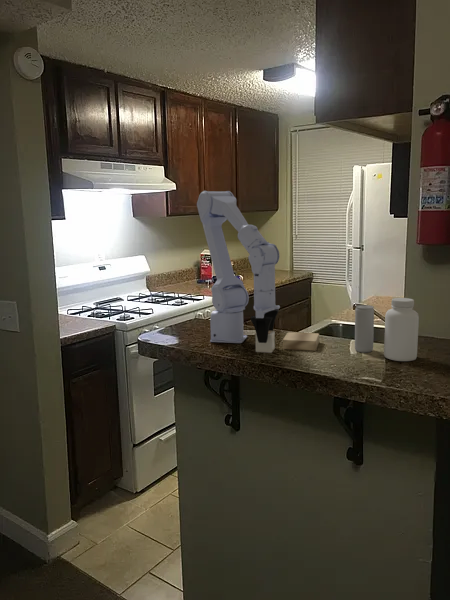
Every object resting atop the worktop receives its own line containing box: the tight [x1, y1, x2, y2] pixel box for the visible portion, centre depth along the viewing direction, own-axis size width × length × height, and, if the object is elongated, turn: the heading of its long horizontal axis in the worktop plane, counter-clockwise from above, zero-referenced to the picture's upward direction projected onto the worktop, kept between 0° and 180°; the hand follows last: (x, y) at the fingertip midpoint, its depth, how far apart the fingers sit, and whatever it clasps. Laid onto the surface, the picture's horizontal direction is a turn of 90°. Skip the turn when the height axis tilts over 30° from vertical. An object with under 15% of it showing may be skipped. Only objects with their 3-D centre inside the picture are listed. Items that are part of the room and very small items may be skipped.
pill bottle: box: [383, 297, 420, 362], centre depth 127 cm, size 8×8×15 cm
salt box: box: [255, 330, 276, 354], centre depth 139 cm, size 4×4×5 cm
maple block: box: [282, 331, 320, 351], centre depth 143 cm, size 9×9×3 cm
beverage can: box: [354, 304, 375, 353], centre depth 135 cm, size 5×5×12 cm
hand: (265, 339), depth 138 cm, fingers open, 7 cm apart
